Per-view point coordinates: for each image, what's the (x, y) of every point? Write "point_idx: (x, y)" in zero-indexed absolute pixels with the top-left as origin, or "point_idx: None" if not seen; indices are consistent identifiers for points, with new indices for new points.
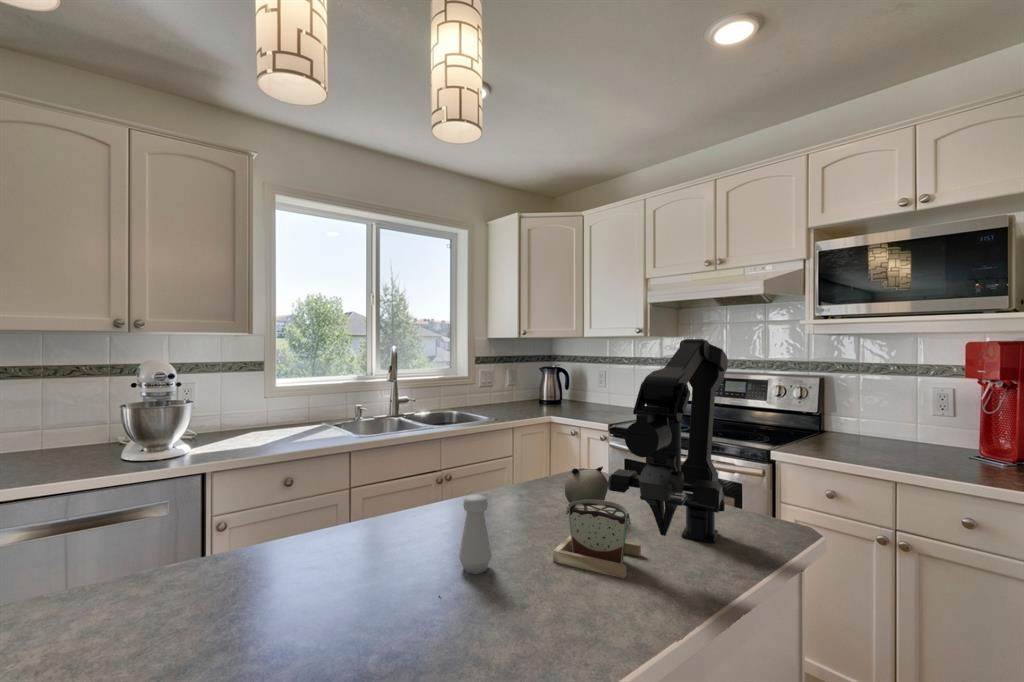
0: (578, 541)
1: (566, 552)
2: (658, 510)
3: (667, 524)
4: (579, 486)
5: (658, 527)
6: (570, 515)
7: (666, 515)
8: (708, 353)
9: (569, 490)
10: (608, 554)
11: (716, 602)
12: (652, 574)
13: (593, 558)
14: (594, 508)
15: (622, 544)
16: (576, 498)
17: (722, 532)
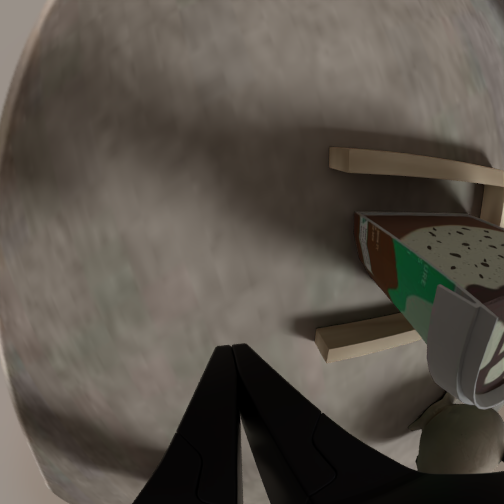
0: (494, 230)
1: (495, 179)
2: (308, 475)
3: (201, 398)
4: (493, 434)
5: (269, 368)
6: None
7: (211, 457)
8: None
9: (499, 416)
10: (414, 223)
11: (20, 162)
12: (248, 232)
13: (444, 172)
14: None
15: (401, 244)
16: (482, 413)
17: None
